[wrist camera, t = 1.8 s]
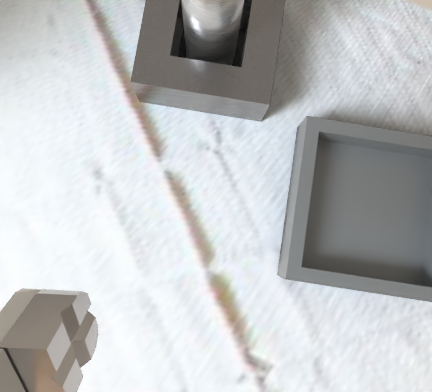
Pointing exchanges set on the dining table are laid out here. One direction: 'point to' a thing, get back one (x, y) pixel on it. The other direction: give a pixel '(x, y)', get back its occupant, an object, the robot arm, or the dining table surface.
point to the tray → (359, 209)
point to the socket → (207, 63)
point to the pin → (211, 29)
